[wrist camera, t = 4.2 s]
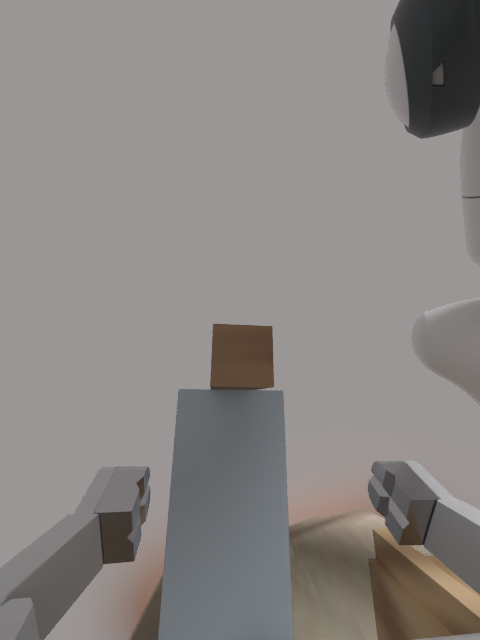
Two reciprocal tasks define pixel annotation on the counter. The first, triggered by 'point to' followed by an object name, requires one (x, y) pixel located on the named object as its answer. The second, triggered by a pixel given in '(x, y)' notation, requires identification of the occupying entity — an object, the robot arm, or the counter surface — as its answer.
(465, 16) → the robot arm
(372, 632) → the counter surface
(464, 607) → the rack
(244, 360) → the walnut bar
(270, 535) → the stand
